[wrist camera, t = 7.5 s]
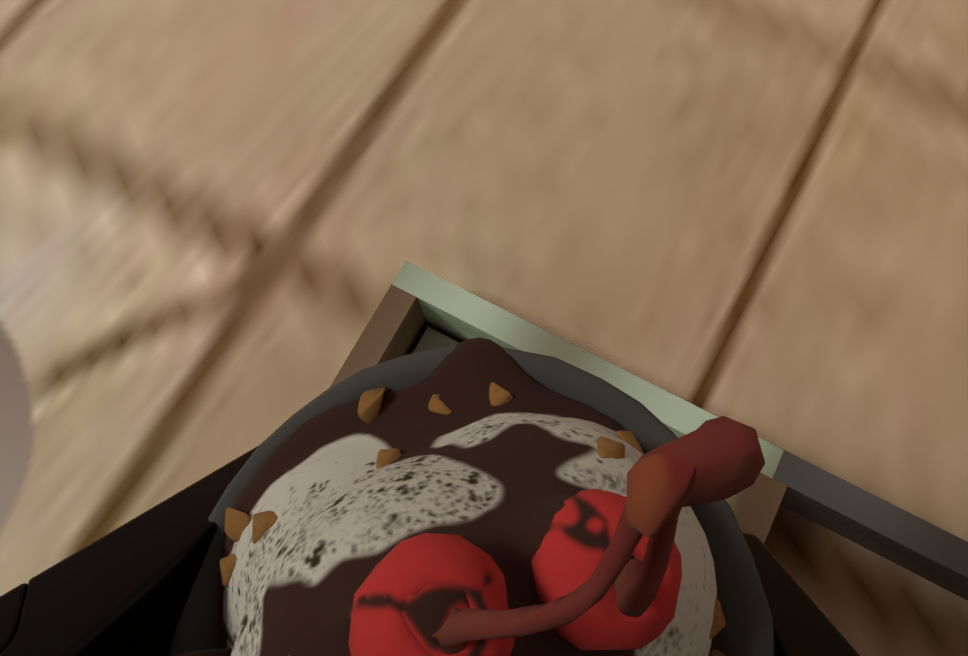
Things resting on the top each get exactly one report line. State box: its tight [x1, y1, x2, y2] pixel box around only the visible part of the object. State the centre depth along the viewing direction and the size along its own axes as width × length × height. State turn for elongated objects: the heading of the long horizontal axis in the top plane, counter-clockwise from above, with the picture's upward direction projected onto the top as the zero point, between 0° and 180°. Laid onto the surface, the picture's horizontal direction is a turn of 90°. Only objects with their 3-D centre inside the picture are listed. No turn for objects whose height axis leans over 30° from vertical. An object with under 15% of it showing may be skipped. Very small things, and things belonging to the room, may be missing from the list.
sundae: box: [168, 338, 775, 656], centre depth 9 cm, size 7×7×15 cm
